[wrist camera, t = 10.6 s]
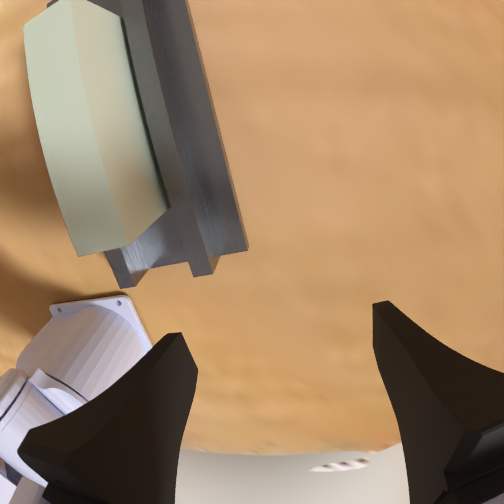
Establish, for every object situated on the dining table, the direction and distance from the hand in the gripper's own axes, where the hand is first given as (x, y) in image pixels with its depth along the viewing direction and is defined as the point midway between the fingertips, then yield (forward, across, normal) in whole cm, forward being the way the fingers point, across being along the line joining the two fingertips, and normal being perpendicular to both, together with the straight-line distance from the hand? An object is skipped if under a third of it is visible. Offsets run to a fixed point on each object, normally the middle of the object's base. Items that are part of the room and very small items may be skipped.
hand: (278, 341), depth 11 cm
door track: (+10, +7, -10) cm, 16 cm away
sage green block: (+9, +7, -10) cm, 15 cm away
